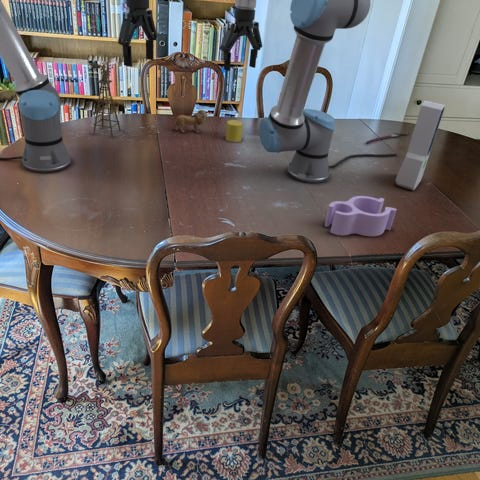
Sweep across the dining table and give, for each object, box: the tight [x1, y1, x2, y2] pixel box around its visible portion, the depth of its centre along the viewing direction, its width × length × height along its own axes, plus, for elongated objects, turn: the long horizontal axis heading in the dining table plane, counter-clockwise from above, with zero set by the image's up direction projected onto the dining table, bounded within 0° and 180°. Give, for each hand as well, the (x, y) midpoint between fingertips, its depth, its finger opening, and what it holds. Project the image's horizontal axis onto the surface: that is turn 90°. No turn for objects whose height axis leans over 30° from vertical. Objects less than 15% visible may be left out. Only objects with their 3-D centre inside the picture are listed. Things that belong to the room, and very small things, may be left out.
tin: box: [225, 119, 244, 143], centre depth 194 cm, size 7×7×7 cm
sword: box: [365, 132, 410, 145], centre depth 213 cm, size 31×3×1 cm, turn 126°
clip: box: [324, 195, 398, 237], centre depth 141 cm, size 20×12×7 cm, turn 109°
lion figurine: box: [171, 109, 207, 134], centre depth 196 cm, size 15×5×9 cm, turn 110°
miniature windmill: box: [91, 55, 122, 138], centre depth 181 cm, size 9×8×30 cm
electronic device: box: [395, 100, 447, 191], centre depth 166 cm, size 12×8×30 cm, turn 148°
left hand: (139, 62), depth 164 cm, fingers open, 13 cm apart
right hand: (239, 68), depth 180 cm, fingers open, 13 cm apart
